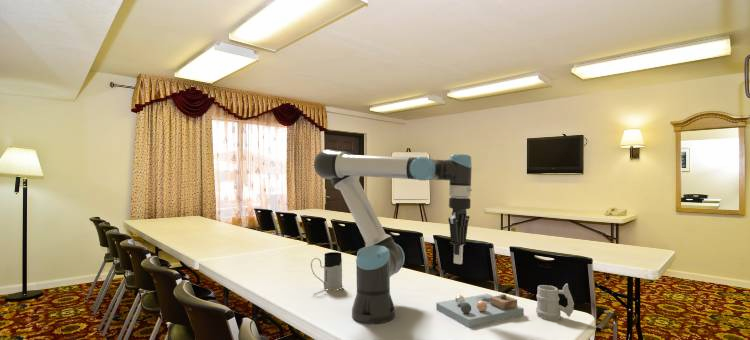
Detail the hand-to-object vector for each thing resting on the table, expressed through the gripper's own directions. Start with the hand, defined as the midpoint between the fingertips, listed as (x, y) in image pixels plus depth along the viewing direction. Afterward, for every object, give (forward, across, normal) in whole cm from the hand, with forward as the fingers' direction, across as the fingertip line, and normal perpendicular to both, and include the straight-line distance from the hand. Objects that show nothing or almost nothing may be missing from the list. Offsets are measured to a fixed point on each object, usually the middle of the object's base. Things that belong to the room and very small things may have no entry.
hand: (457, 263), depth 131 cm
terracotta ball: (+13, 0, -9) cm, 16 cm away
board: (+17, +5, -6) cm, 19 cm away
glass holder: (+20, -7, +58) cm, 62 cm away
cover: (+14, +9, -14) cm, 21 cm away
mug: (+16, +15, -29) cm, 37 cm away
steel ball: (+13, +1, -1) cm, 13 cm away
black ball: (+13, -5, -6) cm, 15 cm away
